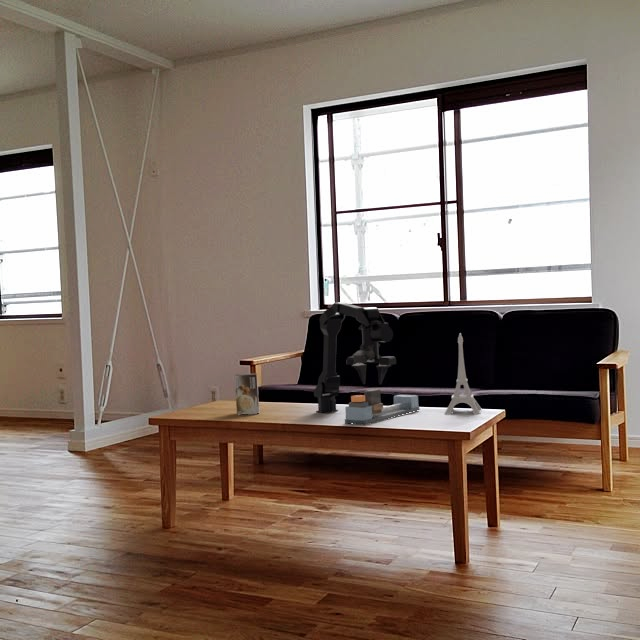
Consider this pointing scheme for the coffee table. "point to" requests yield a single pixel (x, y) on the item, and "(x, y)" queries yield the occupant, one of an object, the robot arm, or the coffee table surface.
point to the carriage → (374, 400)
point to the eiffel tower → (463, 381)
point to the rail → (363, 412)
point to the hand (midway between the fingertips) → (371, 384)
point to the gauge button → (358, 398)
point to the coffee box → (247, 393)
